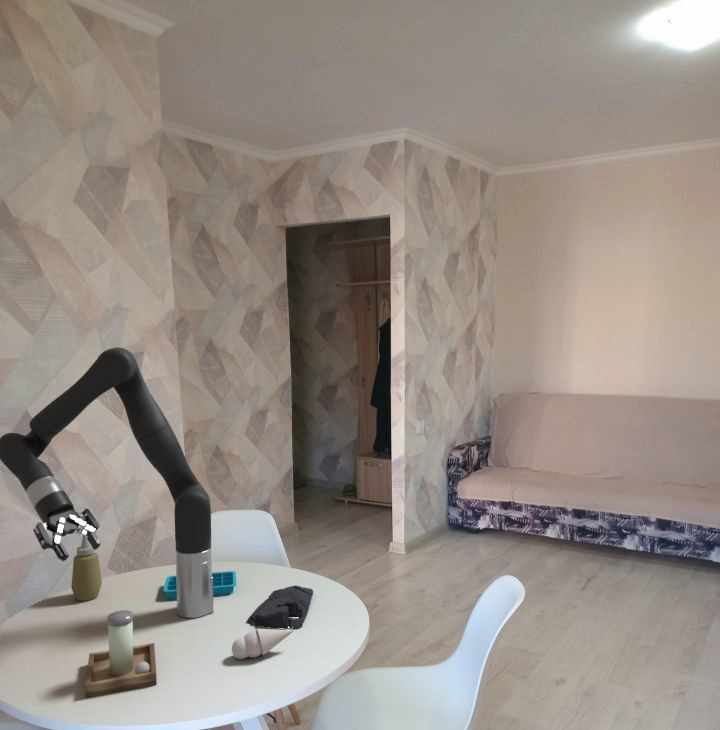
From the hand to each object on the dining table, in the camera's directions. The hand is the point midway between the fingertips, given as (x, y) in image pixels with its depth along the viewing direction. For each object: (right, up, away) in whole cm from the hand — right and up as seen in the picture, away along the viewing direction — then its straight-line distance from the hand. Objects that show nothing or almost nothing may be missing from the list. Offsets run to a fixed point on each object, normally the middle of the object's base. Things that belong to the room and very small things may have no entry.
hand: (82, 553), depth 150 cm
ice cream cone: (+43, -23, -1) cm, 49 cm away
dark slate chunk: (+45, -23, +22) cm, 55 cm away
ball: (+19, -21, -13) cm, 31 cm away
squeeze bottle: (-12, -22, +31) cm, 40 cm away
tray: (+13, -24, -10) cm, 29 cm away
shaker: (+13, -23, -10) cm, 28 cm away
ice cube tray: (+19, -22, +36) cm, 46 cm away
